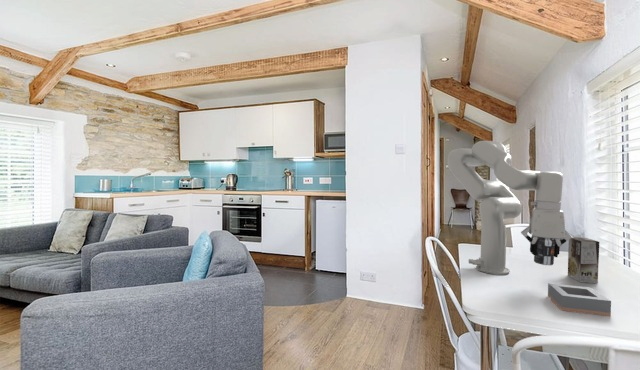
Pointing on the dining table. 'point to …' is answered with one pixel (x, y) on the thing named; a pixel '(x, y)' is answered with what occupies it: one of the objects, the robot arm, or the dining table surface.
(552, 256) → the pill bottle
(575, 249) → the coffee box
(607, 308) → the grey square frame
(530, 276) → the dining table surface
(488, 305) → the dining table surface
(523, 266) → the dining table surface
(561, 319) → the dining table surface
